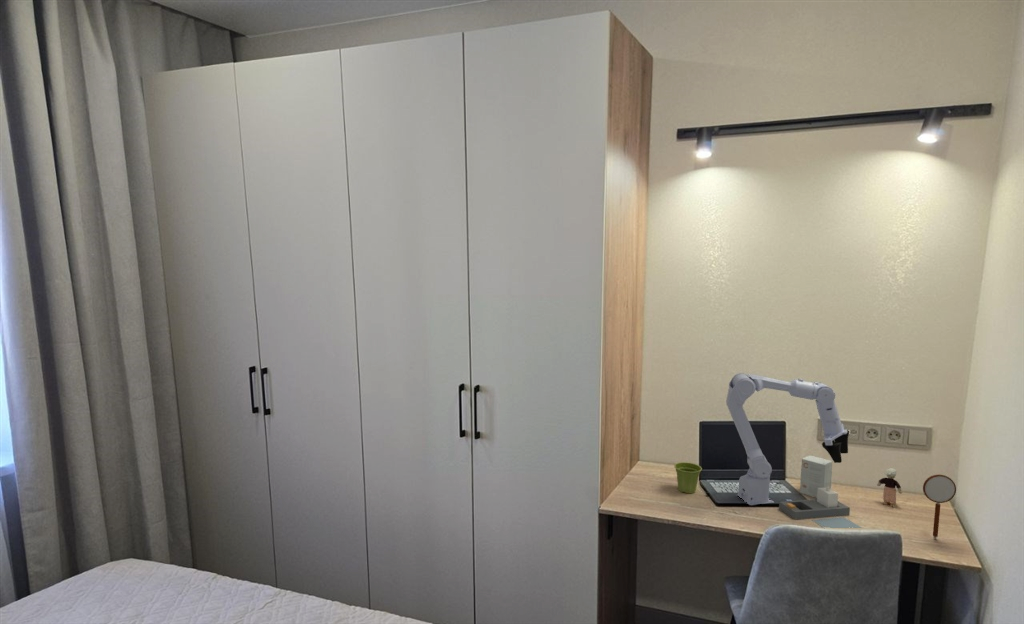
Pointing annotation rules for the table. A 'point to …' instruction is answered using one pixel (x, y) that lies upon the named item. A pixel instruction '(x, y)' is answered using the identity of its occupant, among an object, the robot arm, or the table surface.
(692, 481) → the plant pot
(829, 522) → the mat
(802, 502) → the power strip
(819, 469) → the small box
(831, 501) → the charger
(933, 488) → the magnifying glass
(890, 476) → the grandmother figurine
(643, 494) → the table surface
